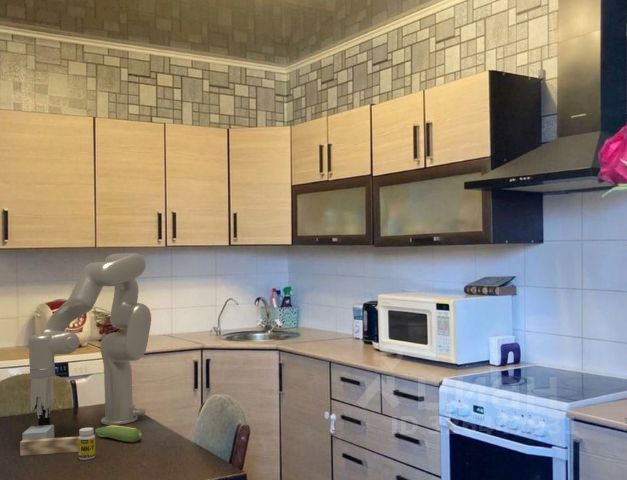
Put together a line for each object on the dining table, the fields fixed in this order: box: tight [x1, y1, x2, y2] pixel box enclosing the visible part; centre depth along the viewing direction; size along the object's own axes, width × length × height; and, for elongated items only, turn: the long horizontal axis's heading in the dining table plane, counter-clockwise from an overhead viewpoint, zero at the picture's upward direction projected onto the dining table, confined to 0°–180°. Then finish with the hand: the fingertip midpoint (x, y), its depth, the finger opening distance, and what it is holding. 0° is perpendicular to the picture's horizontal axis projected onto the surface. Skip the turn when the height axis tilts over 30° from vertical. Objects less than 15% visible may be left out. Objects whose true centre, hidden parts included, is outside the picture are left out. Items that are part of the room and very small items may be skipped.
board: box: [19, 436, 79, 457], centre depth 208 cm, size 20×2×4 cm, turn 96°
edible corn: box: [94, 425, 143, 443], centre depth 220 cm, size 5×20×5 cm, turn 58°
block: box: [21, 424, 55, 440], centre depth 213 cm, size 7×9×6 cm
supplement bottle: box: [77, 427, 96, 461], centre depth 201 cm, size 5×5×8 cm
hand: (44, 429), depth 219 cm, fingers closed
